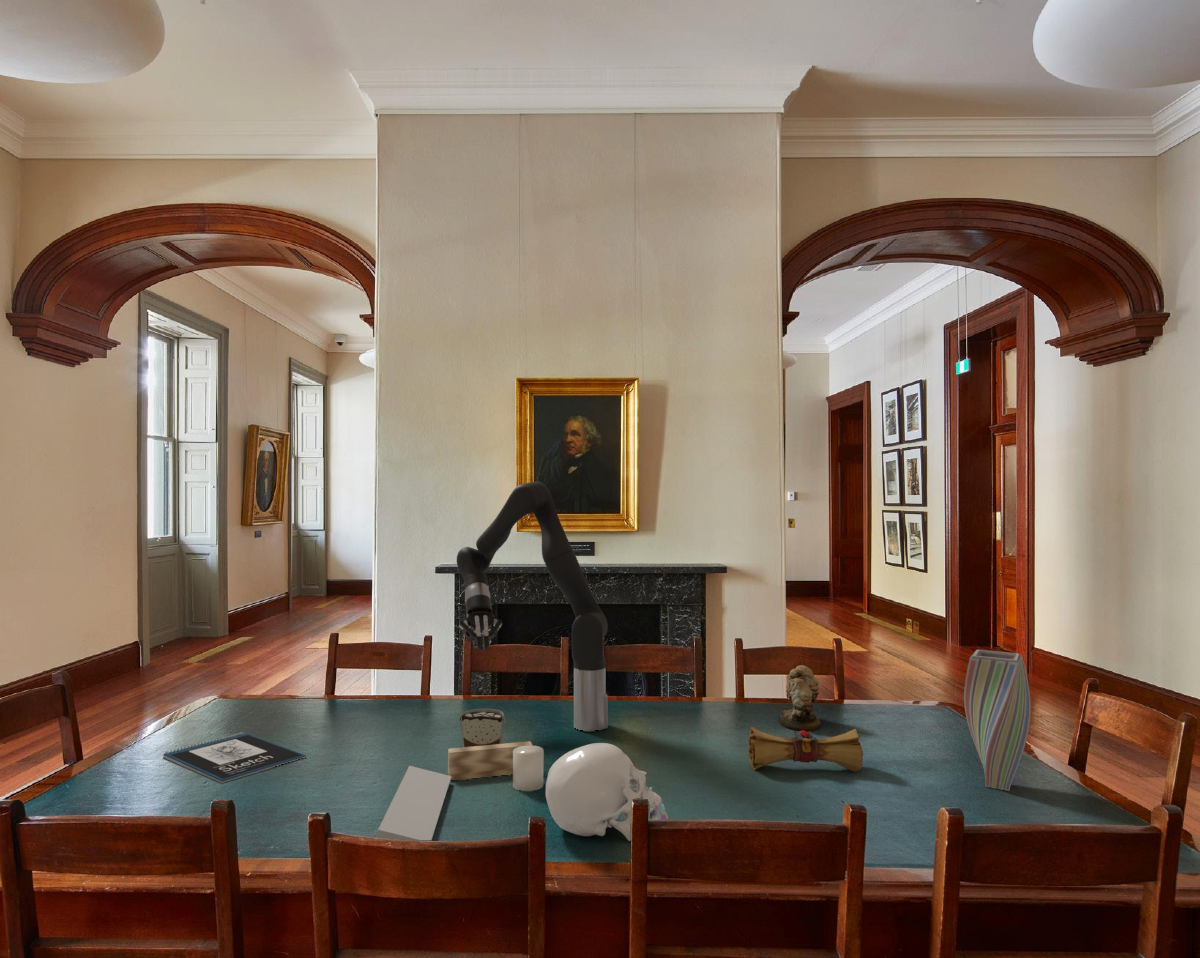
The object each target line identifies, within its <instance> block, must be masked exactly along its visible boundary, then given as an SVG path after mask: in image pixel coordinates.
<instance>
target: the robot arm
mask: <svg viewBox="0 0 1200 958" xmlns="http://www.w3.org/2000/svg"><path fill="white" fill-rule="evenodd" d="M553 500H554V499H553V497H552V495H551V493H550V490H549V488H548V487H547V485H545V484H544V483H543V482H542V481H532V482H531V481H530V482H526V483H521V484H519V485H516V487H515V488H514V489H513V490H512V491H511V493H510V495H509V496H508V498H507V500H505V501H506V502H505V503H504V505H503V506H502V508H501V509H500V511H499V513H497V515H496V517H495V519H493V521H492V522H491V523H490V525H489V526H487V528H486V529H485V530H484V532H483V533H481V535H479V537H478V538H477V540H476V541H475V547H476V548H474V547H470V546H464V547H461V548H460V550H459V551H458V553H457V555H456V565H457V568H458V571H459V573H460V575H461V577H462V579H463V581H464V589H465V591H464V592H465V593H464V598H465V600H464V603H465V609H466V617H465V620H460V621H459V625H458V629H459V630H460V631H461V632H462V633H463V634H464V635H465V636H466V637H467V638H468V639H469V640H471V641H472V640H473V641H476V649H477V651H478V650H479V652H487V651H488V650H489V648H490V641H489V640H490V639H491V640H492V639H494V638H495V636H496V634H497V633H498V632H499V631H500V629H501V628H502V625H503V620H502V619H500V618H499V619H496V618H495V615H494V614H493V608H492V607H493V606H492V601H491V592H490V590H489V583H488V577H487V574H486V573H485V572H486V571H488V569H489V568H490V566H491V563H492V561H493V559H494V556H495V555H496V553H497V552H498V551H499V549H500V548H501V547H502V546H503V545H504V544H505V543H506V542H507V540H508V539H509V537H510V535H511V531H512V529H513V528H514V526H515V524H516V523H517V522H519V521H520V520H521V519H522V518H524V517H525V516H526V515H531V514H534V516H535V519H536V521H537V523H538V525H539V529H540V531H541V532H540V533H541V556H542V559H543V563H544V564H545V567H546V570H547V572H548V573H549V575H550V577H551V579H552V581H553V582H554V583H555V585H556V586H557V588H558V589H559V590H560V592H562V594H563V595H564V597H565V598H566V599H567V601H568V603H569V604H570V606H571V609H572V610H573V611H572V612H573V614H574V617H575V619H574V620H573V623H572V626H571V657H572V660H573V728H574V729H575V728H576V730H577V729H578V730H577V731H580V730H583V731H582V732H596V731H595V730H599V731H602V730H605V729H608V728H609V727H608V723H609V722H608V721H609V720H608V718H609V716H608V715H609V713H608V712H609V711H608V710H609V709H608V707H609V706H608V697H609V696H608V694H607V692H606V678H607V676H606V674H607V673H606V667H607V666H606V658H605V656H604V641H603V640H604V637H605V636H606V635H607V633H608V628H609V625H608V624H609V623H608V620H607V618H606V615H604V613H603V610H602V609H601V607H600V606H599V603H597V601H596V599H595V597H594V596H593V594H592V591H591V589H590V587H589V585H588V582H587V579H586V577H585V574H584V572H583V570H582V568H581V565H580V562H579V560H578V559H577V556H576V554H575V551H574V549H573V547H572V545H571V543H570V541H569V539H568V537H567V534H566V533H565V530H564V527H563V525H562V522H561V520H560V518H559V516H558V511H557V509H556V507H555V504H554V503H555V502H554V501H553ZM492 625H493V627H492V628H491V630H490V631H489V629H490V627H491V626H492ZM481 631H482V635H483V638H482V635H481Z"/></svg>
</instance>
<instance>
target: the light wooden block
mask: <svg viewBox="0 0 1200 958" xmlns="http://www.w3.org/2000/svg"><path fill="white" fill-rule="evenodd" d="M520 746H534V745H533V743H532V742H531V741H530V740H529V741H519V742H509V743H508V742H507V743H501V744H495V745H484V746H473V747H463V746H462V747H452V748H451V747H450V748H448V749H447V775H448V776H451V779H450V782H452V781H451V780H459V781H467V780H466V779H469V780H472V779H471V778H479V777H488V778H493V777H492V776H498V777H502V776H501V775H508V776H512V775H511V774H513V750H514V749H515V748H517V747H520ZM464 779H465V780H464ZM479 779H480V778H479Z"/></svg>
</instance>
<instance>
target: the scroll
mask: <svg viewBox="0 0 1200 958" xmlns="http://www.w3.org/2000/svg"><path fill="white" fill-rule="evenodd" d="M793 734H794V736H792V737H790V738H788V737H781V736H775V735H773V734H769V733H766V732H762V731H761V730H758V729H757V728H755V727H753V726H752V727H750V733H749V736H748V747H747V748H748V749H747V751H748V753H747V757H748V758H749V763H750V765H751V767H752V769H753V771H756V770H758V769H760V768H763V767H765V766H768V765H771V764H774V763H779V762H783V761H793V762H800V763H806V764H807V763H811V762H812V763H817V762H818V761H822V762H823V761H824V762H827V763H828V762H829V763H833V764H837V765H839V766H841V767H843V768H845V769H847V770H849V771H851V772H854V773H855V772H858V771H860V770H861V769H863V760H864V759H863V758H864V751H863V748H862V745H861V743H860V741H859V740H860V735H859V734H858V731H857V728H854V729H852V730H849V731H847V732H845V733H841V734H839V735H835V736H831V737H829V736H828V737H823V738H816V737H815V736H814V735H813V733H812V731H804V730H802V731H795V730H794V732H793Z"/></svg>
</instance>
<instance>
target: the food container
mask: <svg viewBox="0 0 1200 958" xmlns="http://www.w3.org/2000/svg"><path fill="white" fill-rule="evenodd" d="M504 714H505V713H504V712H503V711H502V710H499V709H494V708H476V709H469V710H466V711H463V712H461V713H460V715H459V718H458V722H459V723H460V722H461V735H462V736H461V738H462V747H473V746H484V745H495V744H502V736H503V735H502V734H503V725H504V724H506V716H505V715H504Z"/></svg>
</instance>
